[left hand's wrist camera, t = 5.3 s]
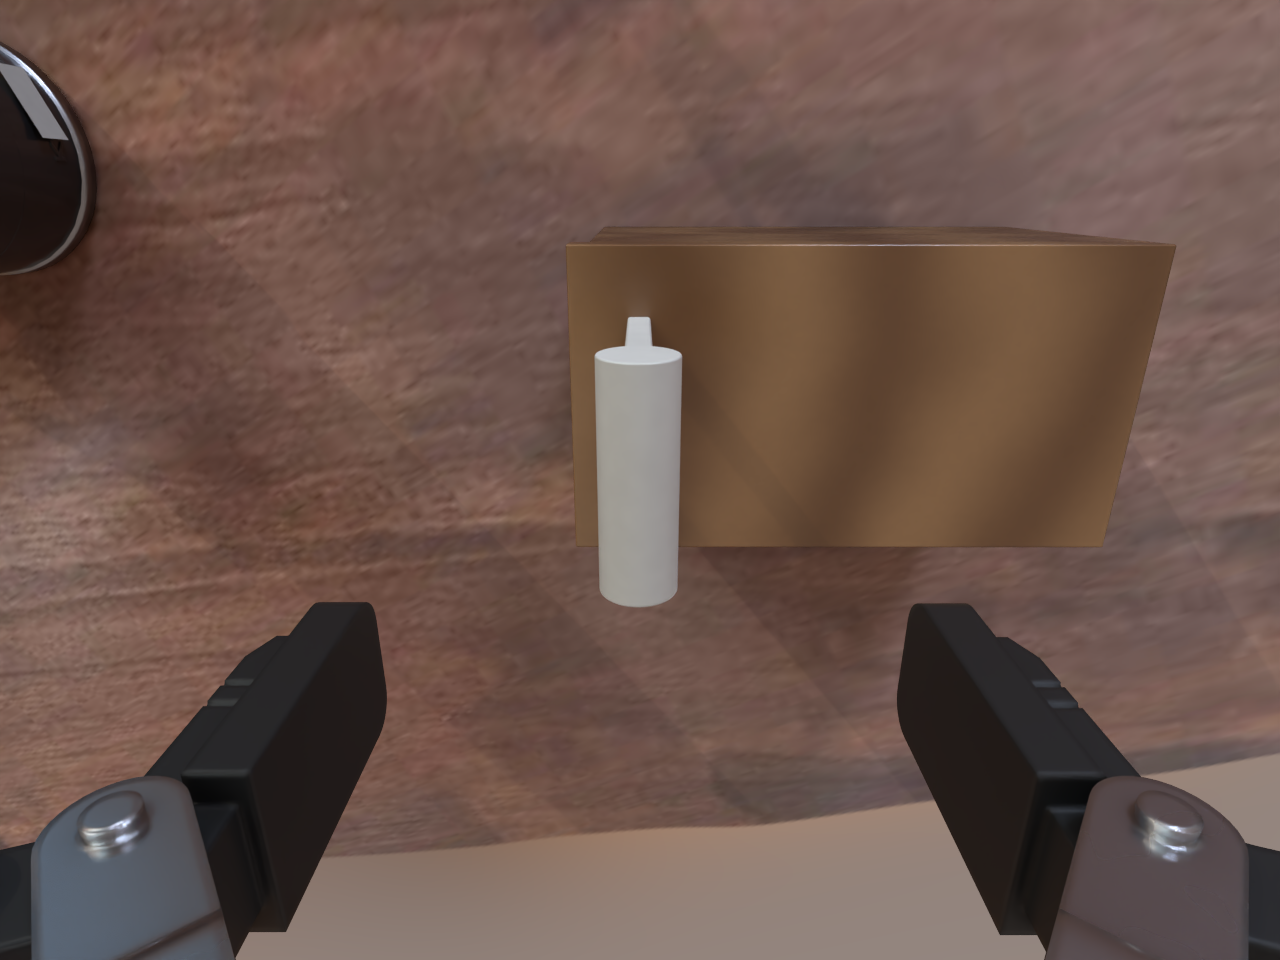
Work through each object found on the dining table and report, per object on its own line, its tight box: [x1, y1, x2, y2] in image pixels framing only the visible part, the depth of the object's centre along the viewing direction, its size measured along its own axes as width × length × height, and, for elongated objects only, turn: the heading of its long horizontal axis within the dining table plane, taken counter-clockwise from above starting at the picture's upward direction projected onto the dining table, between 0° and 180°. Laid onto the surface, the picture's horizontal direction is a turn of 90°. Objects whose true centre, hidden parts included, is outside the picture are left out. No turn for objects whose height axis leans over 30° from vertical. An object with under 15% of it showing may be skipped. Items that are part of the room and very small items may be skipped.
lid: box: [566, 242, 1176, 607], centre depth 21 cm, size 18×10×8 cm, turn 90°
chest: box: [590, 227, 1145, 242], centre depth 30 cm, size 17×10×10 cm, turn 90°
